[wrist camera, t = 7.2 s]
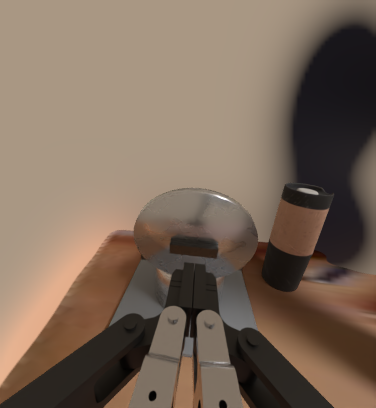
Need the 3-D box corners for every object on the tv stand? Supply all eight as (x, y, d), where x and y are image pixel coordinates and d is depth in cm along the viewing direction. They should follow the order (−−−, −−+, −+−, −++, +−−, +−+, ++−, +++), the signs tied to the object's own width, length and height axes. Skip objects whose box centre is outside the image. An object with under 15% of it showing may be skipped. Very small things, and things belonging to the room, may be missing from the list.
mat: (237, 259, 45) (237, 257, 45) (266, 367, 24) (267, 364, 24) (146, 249, 46) (146, 247, 45) (101, 345, 25) (100, 343, 25)
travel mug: (253, 276, 40) (277, 186, 32) (269, 262, 45) (292, 180, 38) (292, 300, 35) (330, 199, 28) (304, 280, 40) (338, 191, 33)
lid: (271, 191, 17) (279, 207, 15) (238, 278, 26) (241, 296, 24) (130, 178, 18) (121, 192, 16) (143, 268, 26) (138, 284, 24)
